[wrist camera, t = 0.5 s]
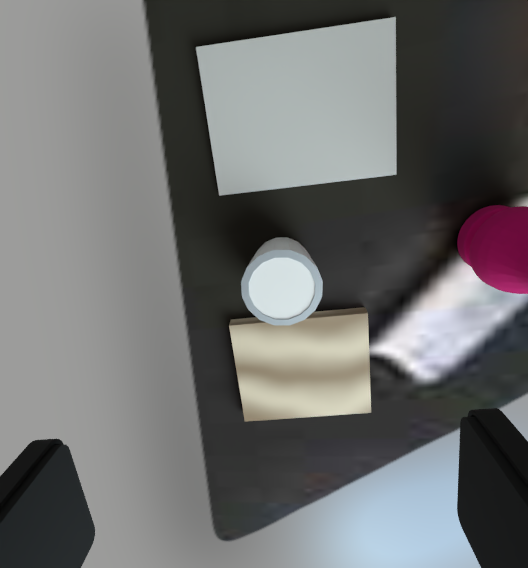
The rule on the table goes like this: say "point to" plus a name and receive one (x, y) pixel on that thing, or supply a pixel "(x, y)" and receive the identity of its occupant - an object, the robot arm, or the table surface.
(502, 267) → the pepper mill
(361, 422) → the table surface
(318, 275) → the shot glass
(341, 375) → the birch board
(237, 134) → the grey tile
